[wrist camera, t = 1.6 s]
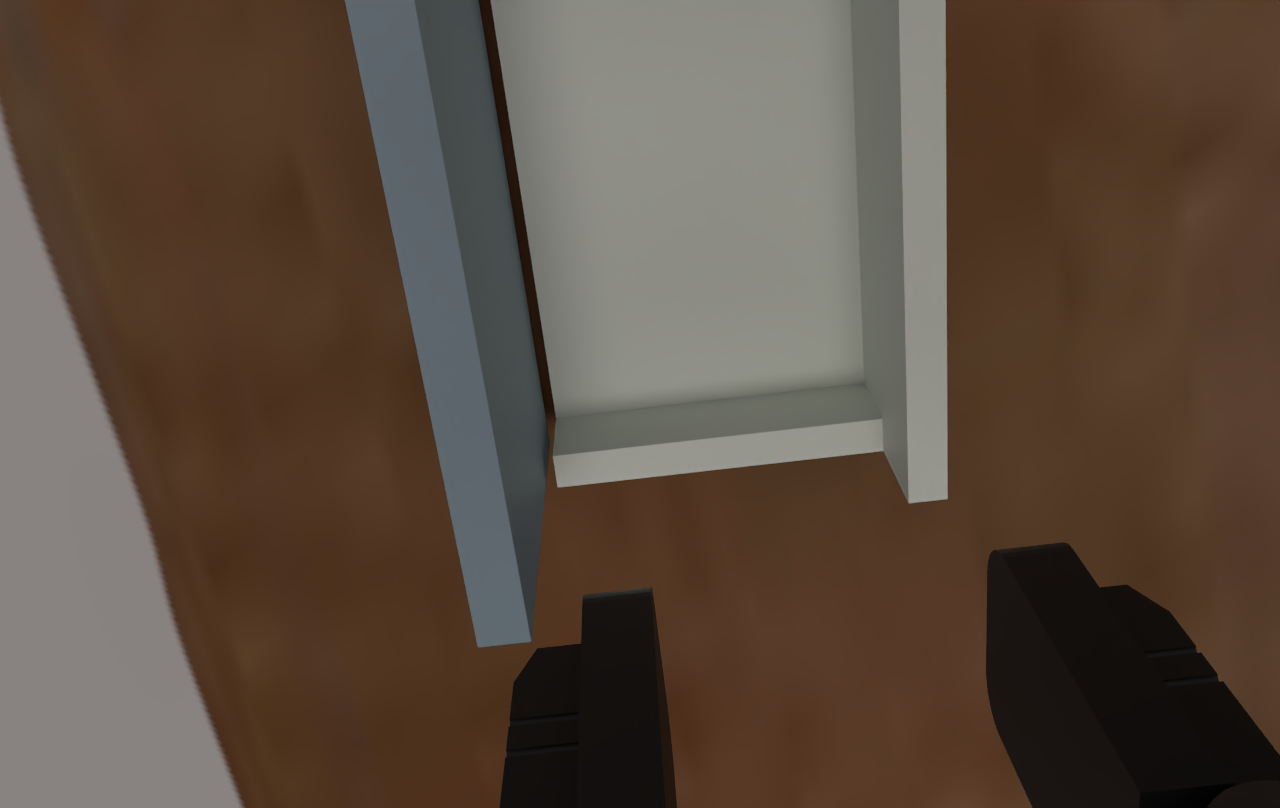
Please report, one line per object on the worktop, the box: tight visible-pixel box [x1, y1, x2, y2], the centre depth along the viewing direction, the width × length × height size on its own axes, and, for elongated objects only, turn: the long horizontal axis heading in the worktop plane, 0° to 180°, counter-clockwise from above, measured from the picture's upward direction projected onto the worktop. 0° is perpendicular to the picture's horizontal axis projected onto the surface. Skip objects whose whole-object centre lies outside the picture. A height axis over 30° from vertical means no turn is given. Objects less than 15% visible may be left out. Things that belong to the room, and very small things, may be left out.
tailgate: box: [345, 0, 550, 647], centre depth 28 cm, size 1×16×10 cm, turn 7°
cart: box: [491, 0, 948, 503], centre depth 30 cm, size 10×17×7 cm, turn 6°
